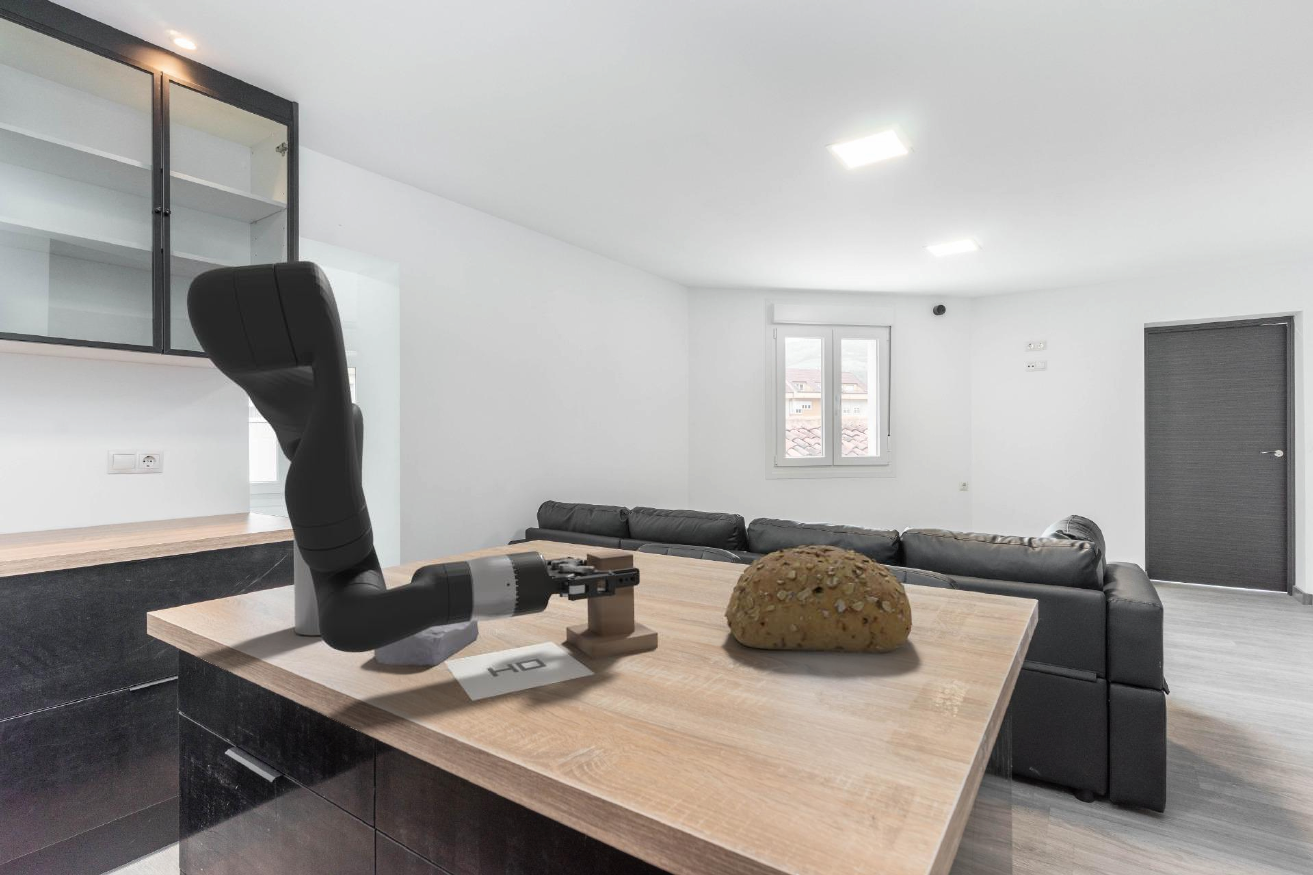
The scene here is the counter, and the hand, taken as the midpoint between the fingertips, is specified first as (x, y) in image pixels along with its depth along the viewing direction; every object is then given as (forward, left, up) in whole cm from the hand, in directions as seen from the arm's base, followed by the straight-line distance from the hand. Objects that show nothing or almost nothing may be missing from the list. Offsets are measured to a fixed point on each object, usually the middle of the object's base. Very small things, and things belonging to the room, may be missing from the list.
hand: (623, 570), depth 86 cm
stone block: (-11, -23, -10) cm, 28 cm away
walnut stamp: (0, -2, -10) cm, 10 cm away
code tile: (+2, -15, -10) cm, 18 cm away
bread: (+11, +24, -10) cm, 28 cm away
